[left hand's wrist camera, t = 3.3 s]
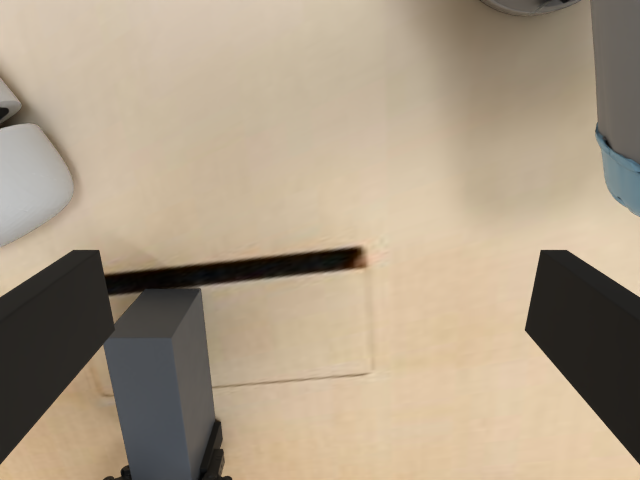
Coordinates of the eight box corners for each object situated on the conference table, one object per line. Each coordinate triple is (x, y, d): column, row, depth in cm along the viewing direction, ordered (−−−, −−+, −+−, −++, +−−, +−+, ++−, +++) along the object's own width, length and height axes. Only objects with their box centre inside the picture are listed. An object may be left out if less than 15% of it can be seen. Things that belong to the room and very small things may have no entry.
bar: (145, 288, 43) (101, 337, 35) (201, 288, 43) (171, 337, 35) (171, 448, 51) (140, 522, 42) (218, 448, 51) (197, 522, 42)
